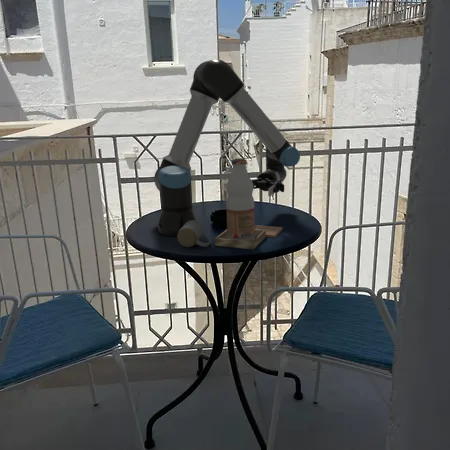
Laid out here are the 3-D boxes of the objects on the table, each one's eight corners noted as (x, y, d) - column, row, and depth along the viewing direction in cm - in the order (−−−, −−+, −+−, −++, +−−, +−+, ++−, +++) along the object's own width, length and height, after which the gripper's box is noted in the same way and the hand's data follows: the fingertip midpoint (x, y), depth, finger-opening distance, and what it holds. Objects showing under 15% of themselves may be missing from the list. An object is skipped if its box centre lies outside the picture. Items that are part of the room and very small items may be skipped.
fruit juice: (222, 243, 156) (219, 161, 148) (235, 235, 164) (233, 157, 156) (247, 247, 151) (245, 162, 143) (259, 238, 159) (258, 158, 151)
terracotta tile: (247, 235, 164) (247, 232, 163) (256, 227, 172) (256, 225, 172) (274, 237, 160) (274, 235, 160) (282, 229, 169) (282, 227, 169)
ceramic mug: (176, 247, 153) (175, 226, 151) (184, 240, 160) (183, 219, 158) (206, 250, 150) (206, 228, 148) (213, 242, 158) (213, 220, 156)
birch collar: (215, 245, 154) (214, 238, 153) (230, 233, 166) (229, 226, 165) (253, 249, 149) (253, 242, 148) (265, 236, 161) (265, 230, 160)
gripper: (299, 191, 178) (284, 204, 159) (239, 188, 187) (219, 199, 168) (299, 172, 176) (285, 182, 157) (238, 169, 185) (218, 179, 166)
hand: (250, 191), depth 163 cm, fingers open, 13 cm apart
